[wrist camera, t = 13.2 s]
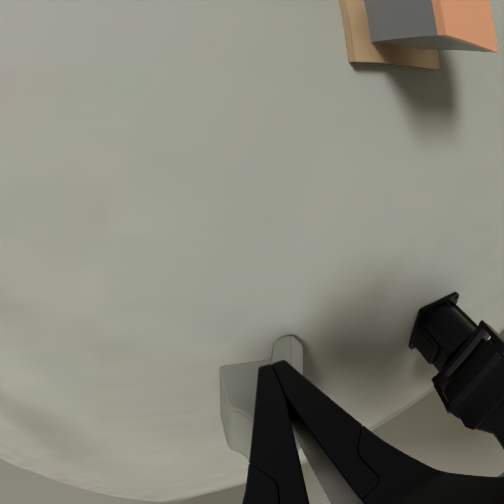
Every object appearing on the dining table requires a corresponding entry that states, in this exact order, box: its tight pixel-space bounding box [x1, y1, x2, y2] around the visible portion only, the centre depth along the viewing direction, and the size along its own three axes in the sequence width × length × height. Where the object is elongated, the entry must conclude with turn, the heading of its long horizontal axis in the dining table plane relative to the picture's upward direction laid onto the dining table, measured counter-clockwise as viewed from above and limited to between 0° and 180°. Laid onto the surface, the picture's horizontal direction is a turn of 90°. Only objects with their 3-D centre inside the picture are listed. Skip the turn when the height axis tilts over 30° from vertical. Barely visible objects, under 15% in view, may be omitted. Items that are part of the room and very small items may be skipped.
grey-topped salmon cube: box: [364, 0, 498, 53], centre depth 11 cm, size 5×5×7 cm
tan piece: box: [339, 0, 440, 70], centre depth 12 cm, size 8×8×6 cm
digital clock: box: [220, 336, 303, 460], centre depth 24 cm, size 16×9×11 cm, turn 165°
